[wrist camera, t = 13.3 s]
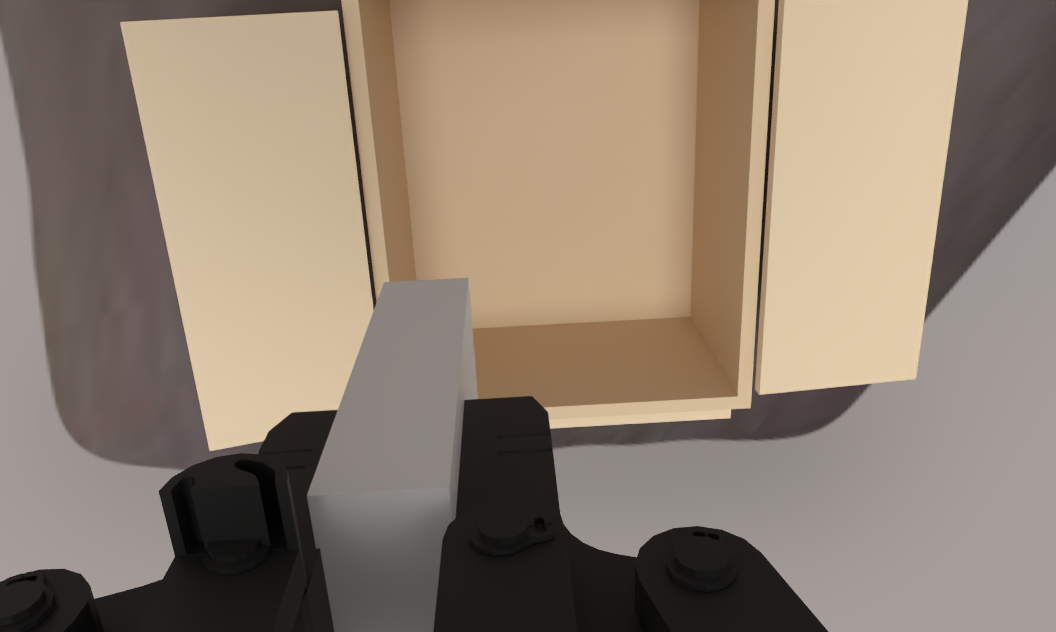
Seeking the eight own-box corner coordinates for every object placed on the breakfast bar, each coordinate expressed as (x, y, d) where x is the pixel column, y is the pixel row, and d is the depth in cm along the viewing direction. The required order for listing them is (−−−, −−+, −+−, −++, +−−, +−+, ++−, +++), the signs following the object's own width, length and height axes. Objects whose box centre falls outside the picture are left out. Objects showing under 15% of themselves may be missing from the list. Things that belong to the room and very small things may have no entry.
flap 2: (785, -11, 30) (970, -20, 31) (779, -11, 30) (962, -20, 31) (759, 394, 36) (915, 379, 36) (755, 389, 36) (909, 374, 37)
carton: (374, -33, 39) (336, -38, 30) (710, -48, 39) (778, -58, 30) (413, 350, 46) (393, 443, 37) (698, 335, 46) (749, 423, 37)
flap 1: (386, 417, 35) (209, 451, 33) (384, 412, 36) (210, 445, 34) (337, 10, 29) (120, 22, 27) (336, 10, 30) (121, 21, 28)
